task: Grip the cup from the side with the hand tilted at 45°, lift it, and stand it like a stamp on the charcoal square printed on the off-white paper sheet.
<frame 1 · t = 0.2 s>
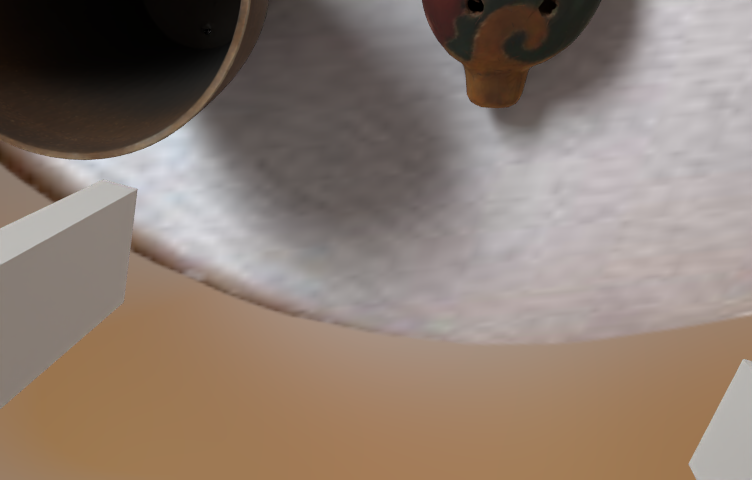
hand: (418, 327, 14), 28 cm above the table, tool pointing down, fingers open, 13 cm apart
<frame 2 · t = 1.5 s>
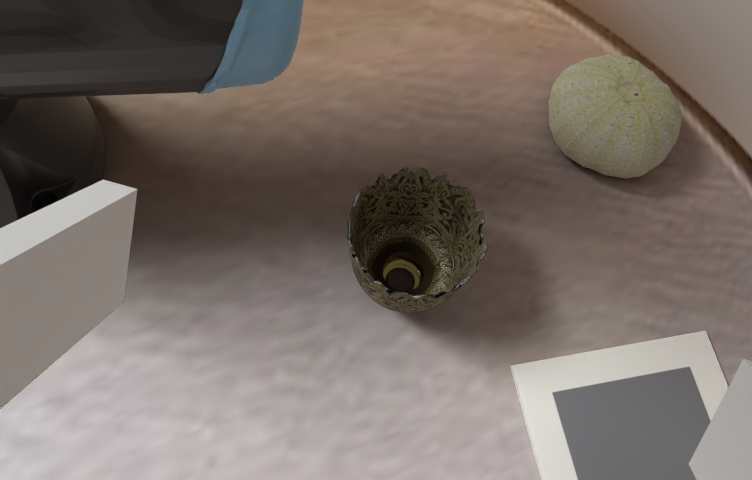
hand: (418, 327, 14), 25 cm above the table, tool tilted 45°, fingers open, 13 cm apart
cup: (399, 281, 42), on the table
sea urchin shell: (601, 133, 48), on the table
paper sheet: (645, 456, 38), on the table
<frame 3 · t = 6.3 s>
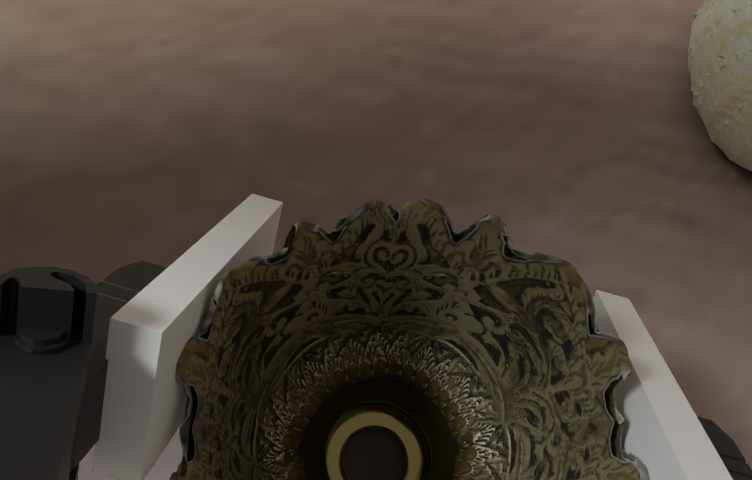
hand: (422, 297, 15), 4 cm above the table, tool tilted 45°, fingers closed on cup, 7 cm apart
cup: (372, 461, 17), on the table, touching gripper
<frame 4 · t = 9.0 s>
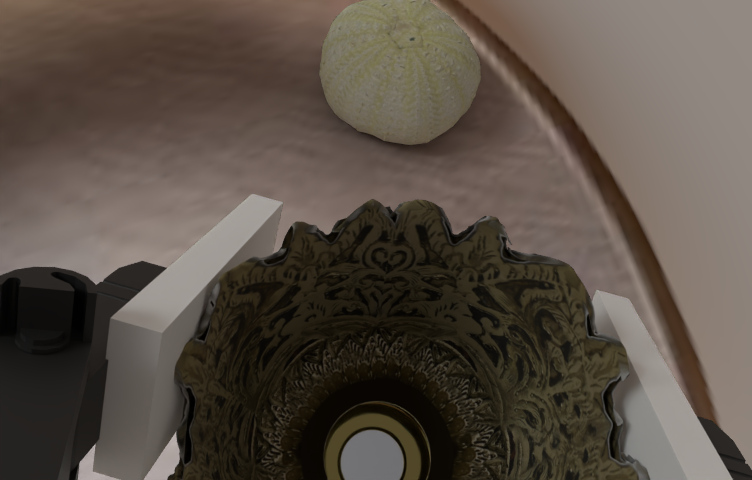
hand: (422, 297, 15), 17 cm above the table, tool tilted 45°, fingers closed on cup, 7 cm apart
cup: (371, 463, 17), point 14 cm above the table, touching gripper
sea urchin shell: (394, 91, 39), on the table
when the fingers open (5 cm above the table, at t = 11.8 s): cup drops 1 cm, resting on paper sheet.
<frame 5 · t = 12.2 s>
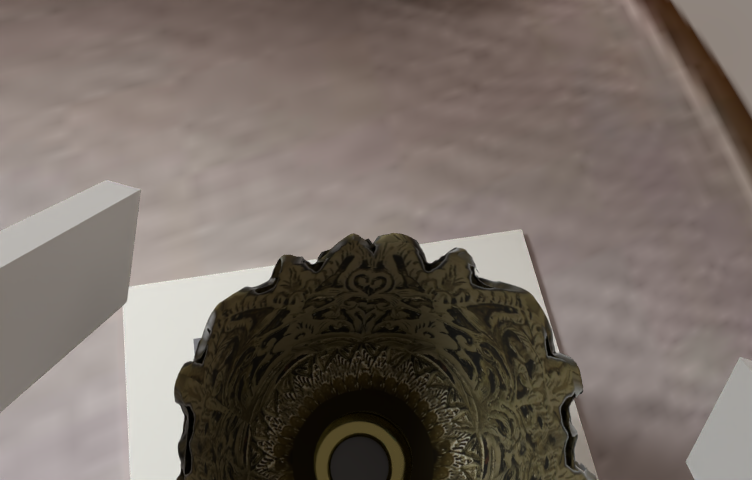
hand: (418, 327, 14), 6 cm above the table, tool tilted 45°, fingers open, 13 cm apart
cup: (358, 467, 19), resting on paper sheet
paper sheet: (367, 466, 19), on the table
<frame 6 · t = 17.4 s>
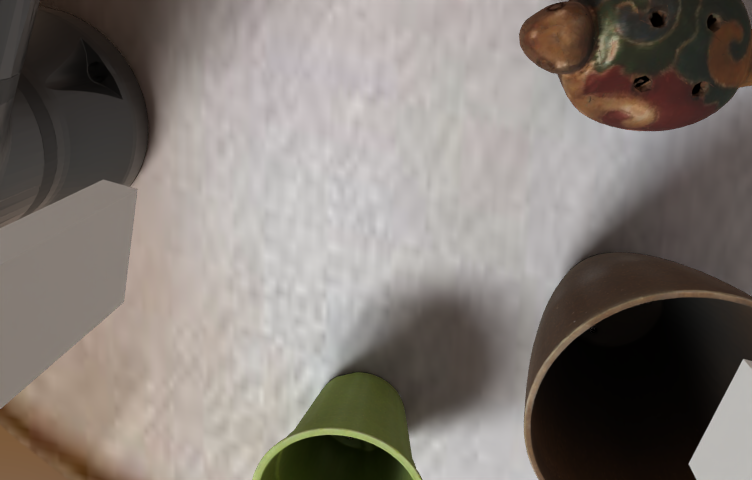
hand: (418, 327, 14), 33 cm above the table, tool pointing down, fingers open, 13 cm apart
plant pot: (608, 296, 48), on the table
plant pot 2: (362, 406, 54), on the table
decorative turtle: (629, 43, 42), on the table
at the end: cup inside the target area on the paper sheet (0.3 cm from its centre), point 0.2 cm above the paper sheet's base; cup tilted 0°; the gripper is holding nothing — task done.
